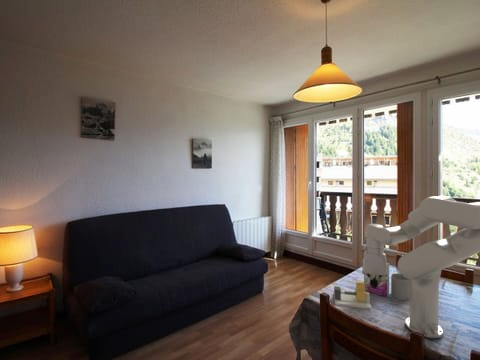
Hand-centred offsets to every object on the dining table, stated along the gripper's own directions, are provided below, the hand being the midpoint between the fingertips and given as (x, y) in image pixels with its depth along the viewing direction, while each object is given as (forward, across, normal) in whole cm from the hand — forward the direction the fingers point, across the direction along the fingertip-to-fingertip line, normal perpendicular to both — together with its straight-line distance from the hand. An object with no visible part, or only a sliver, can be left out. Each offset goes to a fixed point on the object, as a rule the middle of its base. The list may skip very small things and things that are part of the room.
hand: (373, 286), depth 123 cm
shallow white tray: (+8, -10, -1) cm, 13 cm away
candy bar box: (+9, +4, +12) cm, 16 cm away
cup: (+8, +15, +11) cm, 21 cm away
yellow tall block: (+6, -6, -1) cm, 9 cm away
